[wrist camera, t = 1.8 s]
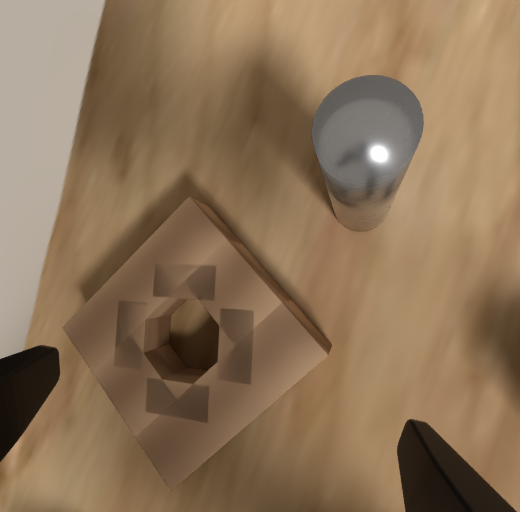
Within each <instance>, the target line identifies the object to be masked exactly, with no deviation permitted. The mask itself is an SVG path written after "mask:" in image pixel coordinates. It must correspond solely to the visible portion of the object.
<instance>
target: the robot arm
mask: <svg viewBox="0 0 520 512" xmlns="http://www.w3.org/2000/svg"><path fill="white" fill-rule="evenodd" d="M59 376H60V366H59V352H58V350H57V349H56V348H55V347H50V346H45V345H39V346H36V347H33V348H31V349H28V350H25V351H22V352H19V353H16V354H13V355H11V356H8V357H5V358H2V359H0V462H1V461H2V459H3V458H4V457H5V456H6V455H7V453H8V452H9V451H10V450H11V448H12V447H13V446H14V445H15V443H16V442H17V441H18V439H19V438H20V437H21V435H22V434H23V433H24V431H25V430H26V428H27V427H28V425H29V424H30V422H31V421H32V419H33V418H34V417H35V415H36V414H37V412H38V411H39V409H40V408H41V406H42V405H43V403H44V402H45V400H46V399H47V397H48V396H49V394H50V393H51V391H52V390H53V388H54V387H55V385H56V384H57V382H58V380H59ZM397 455H398V462H399V469H400V476H401V483H402V490H403V497H404V504H405V511H406V512H517V511H516V510H515V509H514V508H513V507H512V506H510V505H509V504H508V503H507V502H506V501H505V500H504V499H503V498H502V497H501V496H500V495H499V494H498V493H497V492H496V491H495V490H494V489H493V488H492V487H491V486H490V485H489V484H488V483H487V482H486V481H485V480H484V479H483V478H482V477H481V476H480V475H479V474H478V473H477V472H476V471H475V470H474V469H473V468H472V467H471V466H470V465H469V464H468V463H467V462H466V461H465V460H464V459H463V458H462V457H461V456H460V455H459V454H458V453H457V452H456V451H455V450H454V449H453V448H452V447H451V446H450V445H449V444H448V443H447V442H446V441H445V440H444V439H443V438H442V437H441V436H440V435H439V434H438V433H437V432H436V431H435V430H434V429H433V428H432V427H431V426H429V425H428V424H427V423H426V422H423V421H418V420H413V419H409V420H407V422H406V424H405V426H404V429H403V431H402V434H401V437H400V439H399V442H398V446H397Z"/></svg>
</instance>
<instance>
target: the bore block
mask: <svg viewBox="0 0 520 512" xmlns="http://www.w3.org/2000/svg"><path fill="white" fill-rule="evenodd" d="M187 299H198V300H199V301H200V302H201V304H202V305H203V306H204V307H205V309H206V310H207V311H208V312H209V314H210V315H211V316H212V317H213V318H214V320H215V321H216V322H217V323H218V325H219V326H220V327H219V345H218V362H217V363H216V364H215V365H214V366H212V367H211V368H210V369H209V370H202V369H194V368H186V366H185V365H184V364H183V362H182V361H181V359H180V358H179V357H178V355H177V354H176V353H175V351H174V350H173V349H172V347H171V346H170V345H169V339H170V323H171V314H172V313H173V312H175V311H176V310H177V309H178V308H179V307H180V306H181V305H182V304H183V303H184V302H185V301H186V300H187ZM62 328H63V329H64V331H65V332H66V334H67V335H68V337H69V338H70V340H71V341H72V343H73V344H74V346H75V347H76V349H77V350H78V352H79V353H80V355H81V356H82V358H83V359H84V361H85V362H86V364H87V365H88V367H89V368H90V370H91V371H92V373H93V374H94V376H95V377H96V379H97V380H98V382H99V383H100V385H101V386H102V388H103V389H104V391H105V392H106V394H107V395H108V397H109V398H110V400H111V401H112V403H113V404H114V406H115V407H116V409H117V411H118V412H119V414H120V415H121V417H122V418H123V420H124V421H125V423H126V424H127V426H128V427H129V429H130V430H131V432H132V433H133V435H134V436H135V438H136V439H137V441H138V442H139V444H140V445H141V447H142V448H143V450H144V451H145V453H146V454H147V456H148V457H149V459H150V460H151V462H152V463H153V465H154V466H155V468H156V469H157V471H158V472H159V474H160V475H161V477H162V478H163V480H164V481H165V483H166V484H167V486H168V487H169V489H170V490H171V491H172V490H173V489H174V488H175V487H176V486H178V485H179V484H180V483H181V482H182V481H183V480H184V479H186V478H187V477H188V476H189V475H190V474H191V473H193V472H194V471H195V470H196V469H197V468H198V467H200V466H201V465H202V464H203V463H204V462H205V461H206V460H208V459H209V458H210V457H211V456H212V455H213V454H215V453H216V452H217V451H218V450H219V449H220V448H221V447H223V446H224V445H225V444H226V443H227V442H228V441H230V440H231V439H232V438H233V437H234V436H235V435H237V434H238V433H239V432H240V431H241V430H242V429H243V428H245V427H246V426H247V425H248V424H249V423H250V422H252V421H253V420H254V419H255V418H256V417H257V416H259V415H260V414H261V413H262V412H263V411H264V410H265V409H267V408H268V407H269V406H270V405H271V404H272V403H274V402H275V401H276V400H277V399H278V398H279V397H280V396H282V395H283V394H284V393H285V392H286V391H287V390H289V389H290V388H291V387H292V386H293V385H294V384H296V383H297V382H298V381H299V380H300V379H301V378H302V377H304V376H305V375H306V374H307V373H308V372H309V371H311V370H312V369H313V368H314V367H315V366H316V365H318V364H319V363H320V362H321V361H322V360H323V359H324V358H326V357H327V356H328V354H329V352H330V349H331V347H332V345H331V344H330V342H329V341H328V340H327V339H326V338H325V337H324V336H323V334H322V333H321V332H320V331H319V330H318V329H317V328H316V327H315V325H314V324H313V323H312V322H311V321H310V320H309V319H308V318H307V316H306V315H305V314H304V313H303V312H302V311H301V310H300V308H299V307H298V306H297V305H296V304H295V303H294V302H293V301H292V299H291V298H290V297H289V296H288V295H287V294H286V293H285V292H284V290H283V289H282V288H281V287H280V286H279V285H278V284H277V282H276V281H275V280H274V279H273V278H272V277H271V276H270V275H269V273H268V272H267V271H266V270H265V269H264V268H263V267H262V266H261V264H260V263H259V262H258V261H257V260H256V259H255V258H254V257H253V255H252V254H251V253H250V252H249V251H248V250H247V249H246V247H245V246H244V245H243V244H242V243H241V242H240V241H239V240H238V238H237V237H236V236H235V235H234V234H233V233H232V232H231V231H230V229H229V228H228V227H227V226H226V225H225V224H224V223H223V221H222V220H221V219H220V218H219V217H218V216H217V215H216V214H215V212H214V211H213V210H212V209H211V208H210V207H209V206H207V205H205V204H203V203H201V202H199V201H197V200H195V199H193V198H191V197H190V196H189V197H188V198H187V199H186V200H185V201H184V202H183V203H182V204H181V205H180V206H179V207H178V208H177V209H176V210H175V211H174V212H173V213H172V215H171V216H170V217H169V218H168V219H167V220H166V221H165V222H164V223H163V224H162V225H161V226H160V227H159V228H158V229H157V230H156V231H155V232H154V233H153V234H152V235H151V236H150V237H149V238H148V239H147V240H146V241H145V242H144V244H143V245H142V246H141V247H140V248H139V249H138V250H137V251H136V252H135V253H134V254H133V255H132V256H131V257H130V258H129V259H128V260H127V261H126V262H125V263H124V264H123V265H122V266H121V267H120V268H119V269H118V270H117V272H116V273H115V274H114V275H113V276H112V277H111V278H110V279H109V280H108V281H107V282H106V283H105V284H104V285H103V286H102V287H101V288H100V289H99V290H98V291H97V292H96V293H95V294H94V295H93V296H92V297H91V298H90V299H89V301H88V302H87V303H86V304H85V305H84V306H83V307H82V308H81V309H80V310H79V311H78V312H77V313H76V314H75V315H74V316H73V317H72V318H71V319H70V320H69V321H68V322H67V323H66V324H65V325H64V326H63V327H62Z"/></svg>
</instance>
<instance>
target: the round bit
mask: <svg viewBox="0 0 520 512" xmlns="http://www.w3.org/2000/svg"><path fill="white" fill-rule="evenodd" d="M423 124H424V121H423V113H422V108H421V106H420V103H419V101H418V99H417V98H416V96H415V95H414V93H413V92H412V91H411V90H410V89H409V88H408V87H407V86H405V85H404V84H402V83H401V82H399V81H397V80H395V79H392V78H389V77H385V76H379V75H367V76H361V77H357V78H353V79H351V80H348V81H346V82H344V83H342V84H341V85H339V86H338V87H336V88H335V89H333V90H332V91H331V92H330V93H329V94H328V95H327V96H326V97H325V99H324V100H323V101H322V103H321V104H320V106H319V107H318V109H317V111H316V114H315V117H314V120H313V124H312V140H313V145H314V148H315V151H316V155H317V158H318V161H319V164H320V167H321V171H322V174H323V177H324V180H325V184H326V187H327V190H328V193H329V196H330V200H331V203H332V206H333V209H334V213H335V216H336V218H337V219H338V221H339V222H340V223H341V224H342V225H343V226H344V227H346V228H347V229H349V230H352V231H358V232H362V231H368V230H371V229H373V228H375V227H377V226H378V225H379V224H380V223H381V222H382V221H383V220H384V219H385V217H386V215H387V213H388V211H389V208H390V206H391V204H392V202H393V200H394V197H395V195H396V193H397V191H398V189H399V186H400V184H401V182H402V180H403V177H404V175H405V173H406V171H407V169H408V166H409V164H410V162H411V160H412V158H413V155H414V153H415V151H416V149H417V147H418V144H419V142H420V139H421V136H422V132H423Z"/></svg>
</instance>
